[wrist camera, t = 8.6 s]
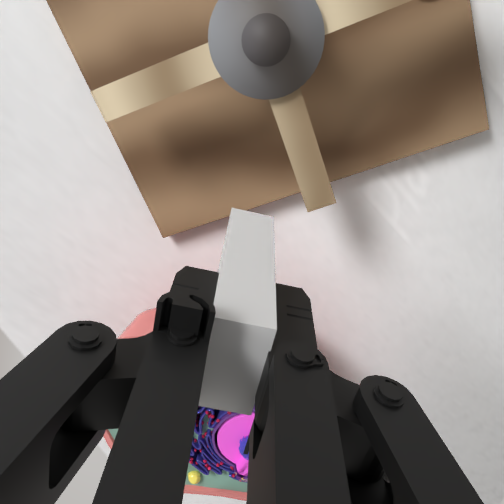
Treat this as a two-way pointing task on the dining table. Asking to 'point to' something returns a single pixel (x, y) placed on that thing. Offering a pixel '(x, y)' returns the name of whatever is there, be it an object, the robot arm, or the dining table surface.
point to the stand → (260, 111)
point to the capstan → (255, 70)
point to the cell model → (207, 439)
